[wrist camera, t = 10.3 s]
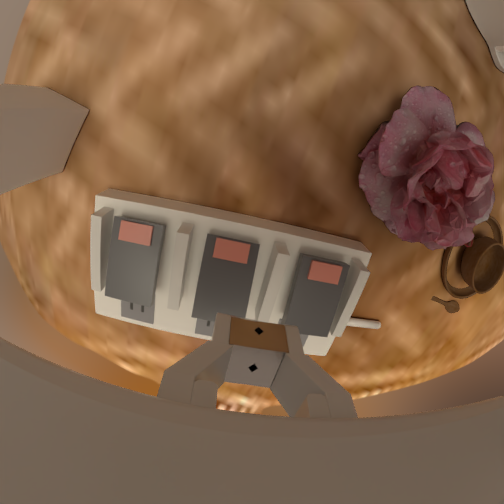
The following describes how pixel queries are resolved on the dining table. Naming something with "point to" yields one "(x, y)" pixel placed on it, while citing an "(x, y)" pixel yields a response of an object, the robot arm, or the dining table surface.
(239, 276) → the rocker middle
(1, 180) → the milk carton
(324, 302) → the rocker near arm
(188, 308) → the power strip
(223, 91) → the dining table surface
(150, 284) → the rocker far end
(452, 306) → the place setting
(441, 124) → the flower
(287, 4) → the dining table surface
